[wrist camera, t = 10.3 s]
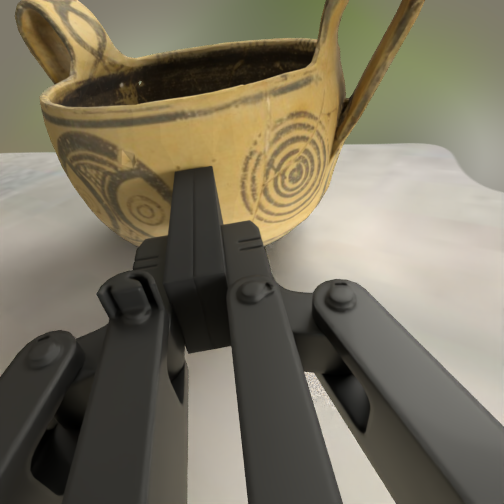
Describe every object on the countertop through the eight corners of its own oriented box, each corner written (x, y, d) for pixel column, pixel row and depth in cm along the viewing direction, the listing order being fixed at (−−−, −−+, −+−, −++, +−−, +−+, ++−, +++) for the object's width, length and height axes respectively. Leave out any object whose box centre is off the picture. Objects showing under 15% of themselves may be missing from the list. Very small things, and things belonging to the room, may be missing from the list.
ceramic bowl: (397, 186, 27) (439, -69, 18) (370, 362, 15) (457, -145, 6) (166, 170, 35) (114, -13, 26) (28, 275, 23) (-158, 4, 14)
